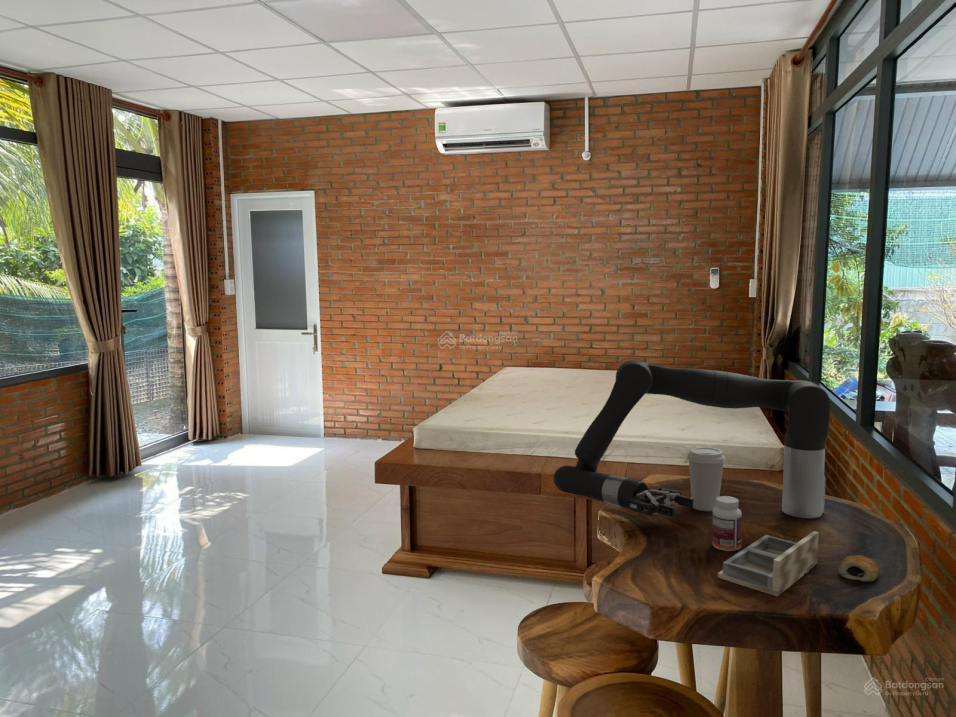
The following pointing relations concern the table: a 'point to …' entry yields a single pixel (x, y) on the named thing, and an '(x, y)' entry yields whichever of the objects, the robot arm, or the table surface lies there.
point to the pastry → (858, 568)
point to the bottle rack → (772, 563)
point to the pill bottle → (727, 524)
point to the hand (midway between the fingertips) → (683, 507)
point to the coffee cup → (705, 476)
